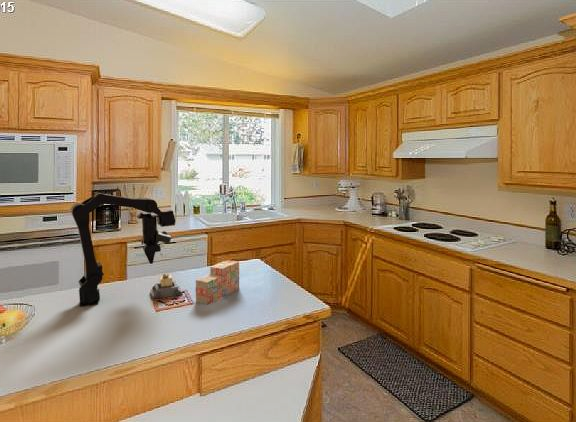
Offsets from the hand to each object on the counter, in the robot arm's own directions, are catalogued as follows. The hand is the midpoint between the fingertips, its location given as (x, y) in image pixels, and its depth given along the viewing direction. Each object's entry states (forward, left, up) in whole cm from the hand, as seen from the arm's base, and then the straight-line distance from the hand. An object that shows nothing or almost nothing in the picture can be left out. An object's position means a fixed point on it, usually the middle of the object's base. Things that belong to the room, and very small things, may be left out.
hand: (151, 263), depth 157 cm
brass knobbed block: (+5, -6, -11) cm, 13 cm away
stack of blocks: (+25, -16, -12) cm, 32 cm away
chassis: (+5, -6, -12) cm, 14 cm away
